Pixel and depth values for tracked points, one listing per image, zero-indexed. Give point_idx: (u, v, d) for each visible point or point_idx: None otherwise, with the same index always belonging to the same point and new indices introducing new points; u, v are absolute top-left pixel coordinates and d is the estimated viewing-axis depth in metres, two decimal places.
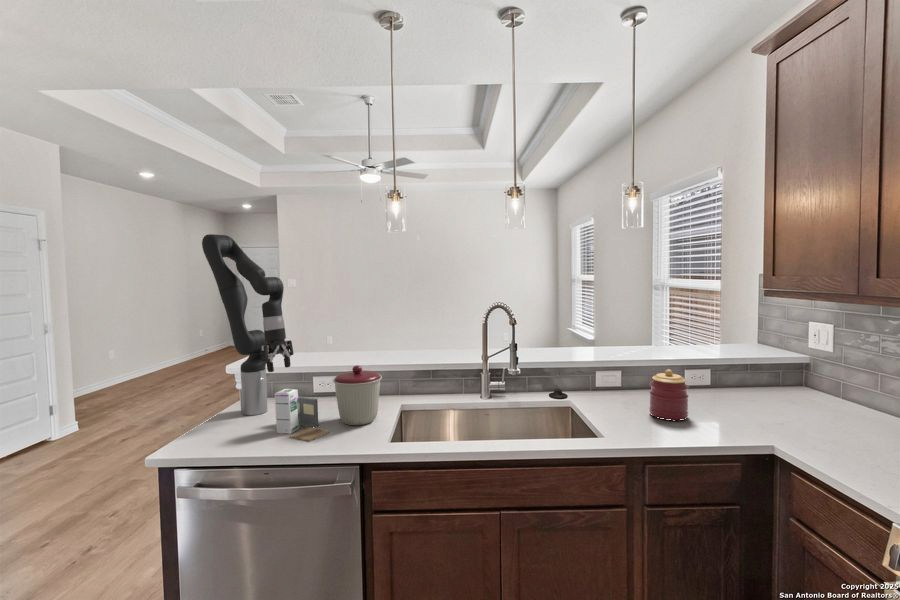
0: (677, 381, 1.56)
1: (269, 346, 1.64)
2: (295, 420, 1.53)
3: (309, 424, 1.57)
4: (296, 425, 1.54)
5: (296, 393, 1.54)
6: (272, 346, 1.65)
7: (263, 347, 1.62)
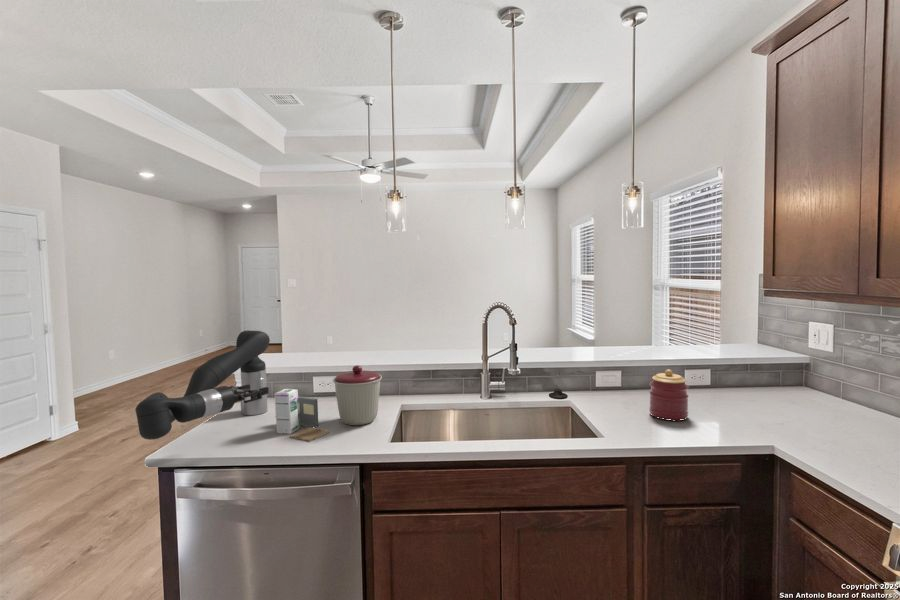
0: (677, 381, 1.56)
1: (241, 395, 1.32)
2: (295, 420, 1.53)
3: (309, 424, 1.57)
4: (296, 425, 1.54)
5: (296, 393, 1.54)
6: (239, 393, 1.32)
7: (247, 397, 1.31)
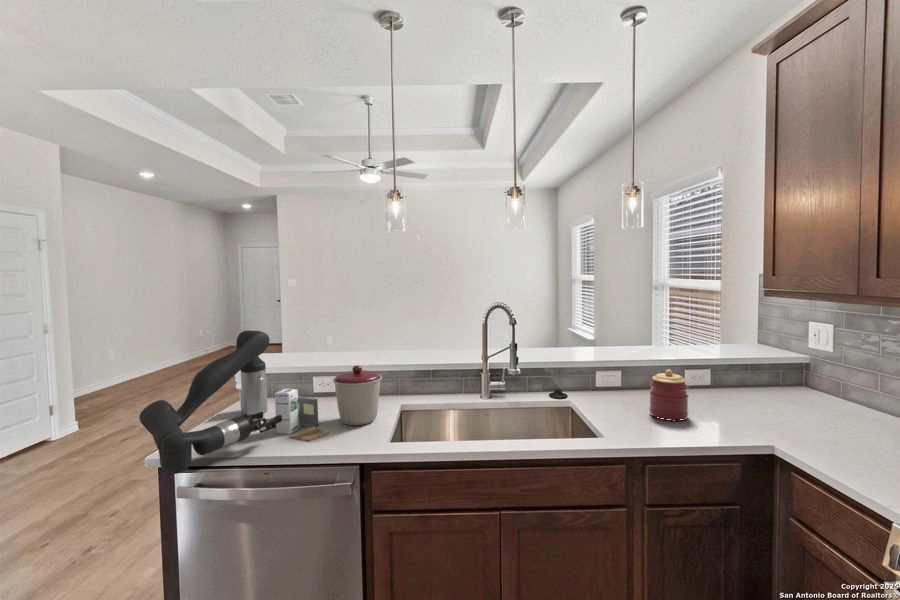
0: (677, 381, 1.56)
1: (257, 425, 1.36)
2: (295, 420, 1.53)
3: (309, 424, 1.57)
4: (296, 425, 1.54)
5: (296, 393, 1.54)
6: (255, 423, 1.37)
7: (263, 427, 1.35)
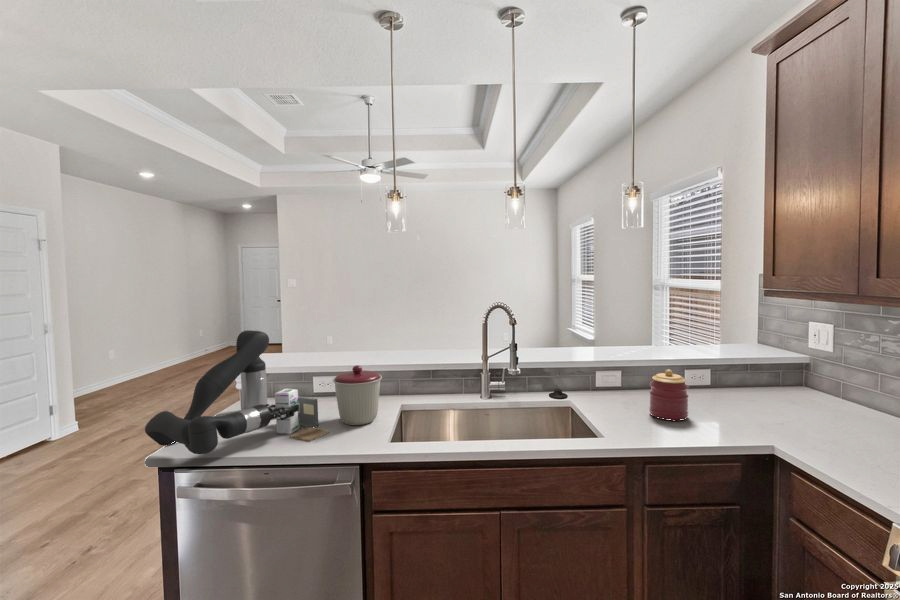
0: (677, 381, 1.56)
1: (277, 413, 1.44)
2: (295, 420, 1.53)
3: (309, 424, 1.57)
4: (296, 425, 1.54)
5: (296, 393, 1.54)
6: (275, 411, 1.45)
7: (283, 414, 1.43)
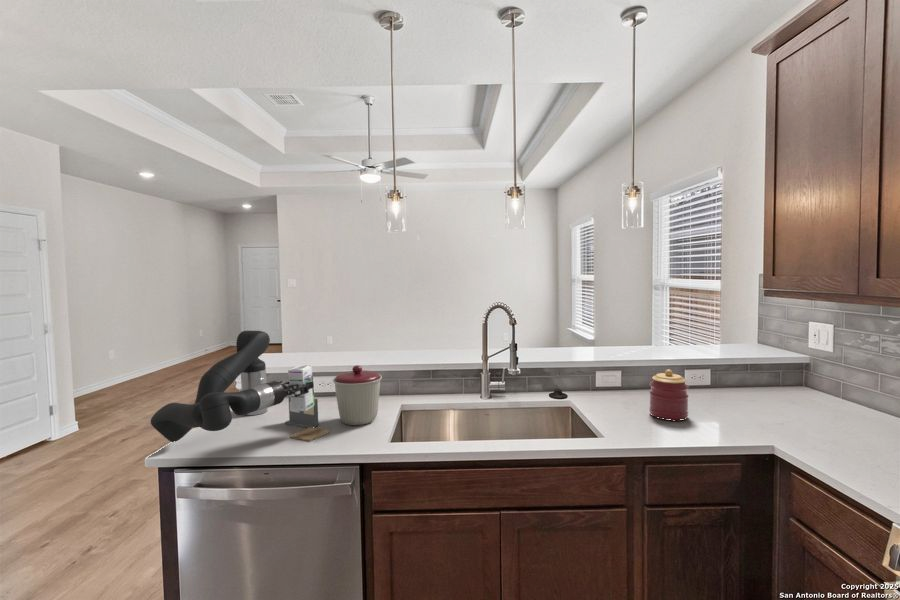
0: (677, 381, 1.56)
1: (291, 389, 1.40)
2: (309, 397, 1.49)
3: (309, 424, 1.57)
4: (311, 402, 1.49)
5: (310, 370, 1.50)
6: (289, 388, 1.40)
7: (297, 391, 1.39)
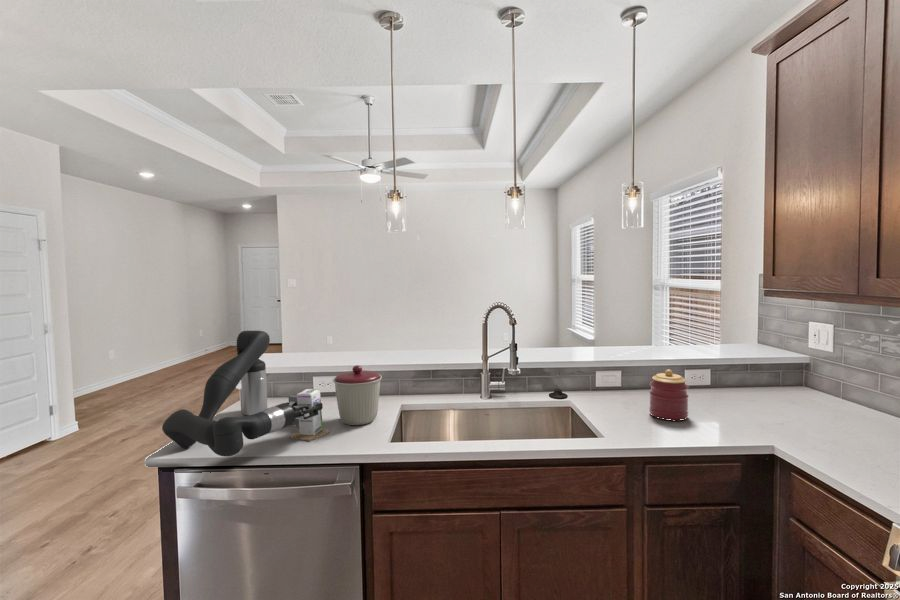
0: (677, 381, 1.56)
1: (300, 411, 1.40)
2: (318, 421, 1.49)
3: None
4: (319, 426, 1.50)
5: (318, 394, 1.50)
6: (298, 410, 1.40)
7: (306, 413, 1.39)
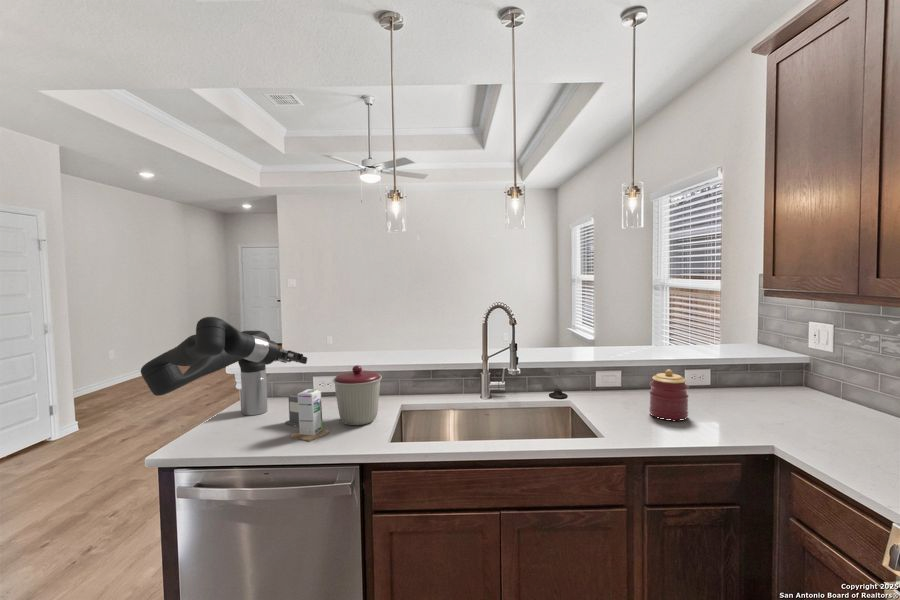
0: (677, 381, 1.56)
1: (284, 352, 1.35)
2: (318, 421, 1.49)
3: None
4: (319, 426, 1.50)
5: (319, 394, 1.50)
6: (283, 351, 1.36)
7: (290, 353, 1.34)
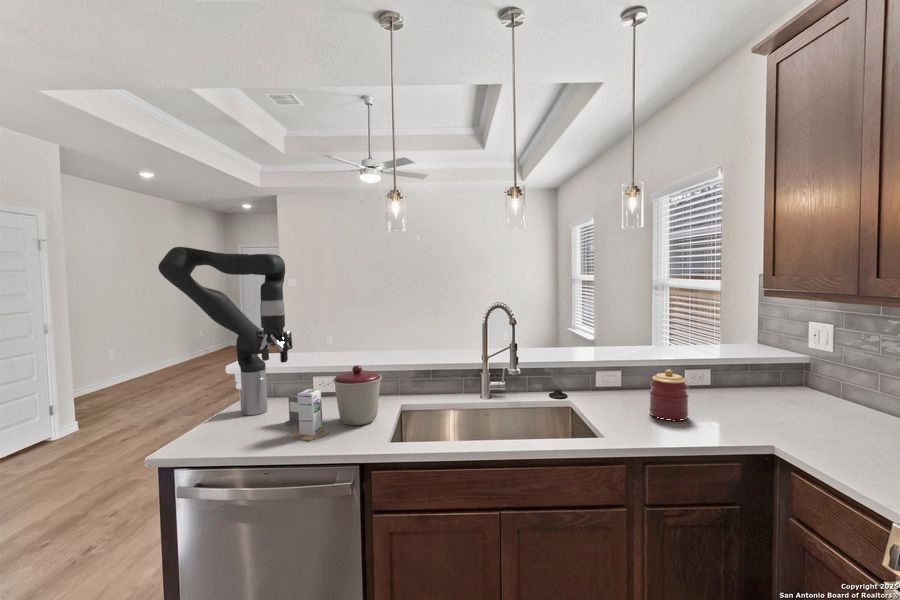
0: (677, 381, 1.56)
1: None
2: (318, 421, 1.49)
3: None
4: (319, 426, 1.50)
5: (319, 394, 1.50)
6: None
7: (289, 333, 1.44)
